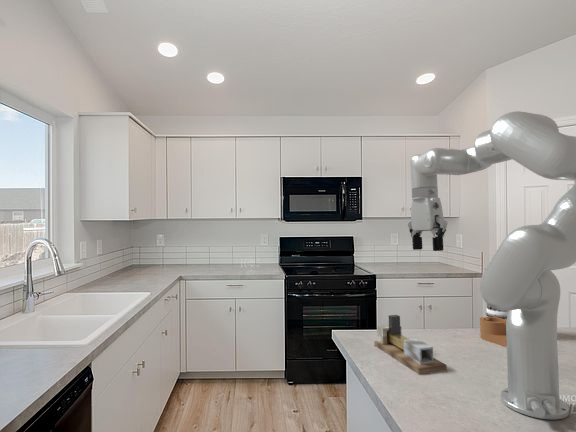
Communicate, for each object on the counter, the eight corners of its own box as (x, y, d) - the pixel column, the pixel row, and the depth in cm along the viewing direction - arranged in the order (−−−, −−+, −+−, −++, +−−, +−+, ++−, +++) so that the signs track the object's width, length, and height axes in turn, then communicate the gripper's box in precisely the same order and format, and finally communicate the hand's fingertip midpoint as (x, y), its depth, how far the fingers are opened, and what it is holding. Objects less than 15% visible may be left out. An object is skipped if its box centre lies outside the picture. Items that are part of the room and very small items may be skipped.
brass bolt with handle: (420, 353, 106) (419, 324, 106) (411, 355, 105) (410, 325, 105) (393, 338, 120) (392, 312, 121) (385, 339, 120) (384, 313, 120)
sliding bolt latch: (446, 370, 99) (445, 346, 100) (418, 374, 97) (418, 349, 97) (397, 342, 123) (397, 323, 123) (374, 345, 121) (374, 325, 121)
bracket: (475, 337, 128) (474, 318, 128) (491, 334, 131) (490, 315, 131) (525, 354, 111) (524, 331, 111) (542, 349, 114) (541, 328, 114)
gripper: (455, 191, 102) (458, 250, 101) (417, 197, 119) (420, 248, 118) (432, 191, 100) (436, 251, 99) (398, 197, 116) (400, 249, 116)
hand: (427, 250), depth 108 cm, fingers open, 9 cm apart
